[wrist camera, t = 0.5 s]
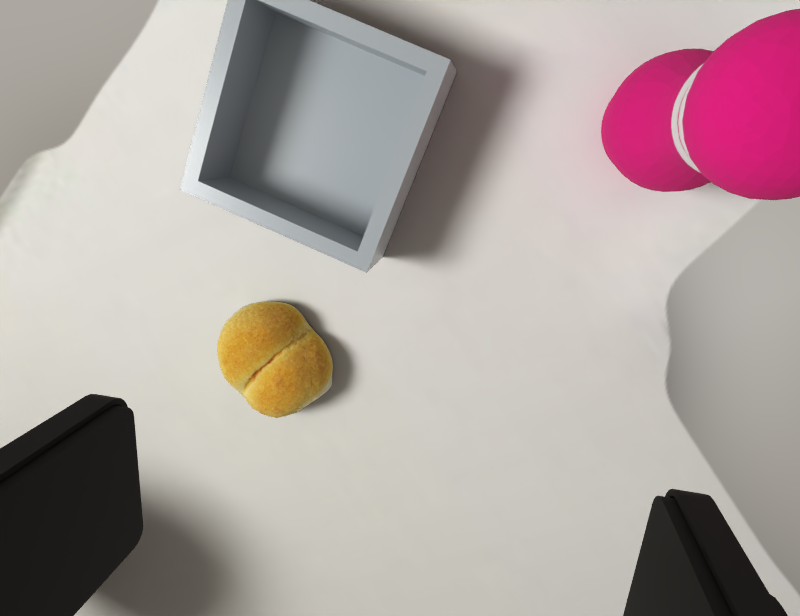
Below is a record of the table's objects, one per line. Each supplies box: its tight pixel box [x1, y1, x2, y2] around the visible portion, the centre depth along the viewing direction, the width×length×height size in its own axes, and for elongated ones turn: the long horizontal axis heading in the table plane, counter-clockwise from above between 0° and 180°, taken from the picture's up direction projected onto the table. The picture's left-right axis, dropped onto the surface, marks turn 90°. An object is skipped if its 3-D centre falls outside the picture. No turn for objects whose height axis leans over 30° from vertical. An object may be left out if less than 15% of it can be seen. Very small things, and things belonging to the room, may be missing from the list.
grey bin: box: [180, 0, 457, 273], centre depth 34 cm, size 13×13×5 cm
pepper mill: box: [601, 9, 800, 200], centre depth 24 cm, size 7×7×20 cm
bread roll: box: [217, 302, 333, 418], centre depth 40 cm, size 8×9×4 cm
